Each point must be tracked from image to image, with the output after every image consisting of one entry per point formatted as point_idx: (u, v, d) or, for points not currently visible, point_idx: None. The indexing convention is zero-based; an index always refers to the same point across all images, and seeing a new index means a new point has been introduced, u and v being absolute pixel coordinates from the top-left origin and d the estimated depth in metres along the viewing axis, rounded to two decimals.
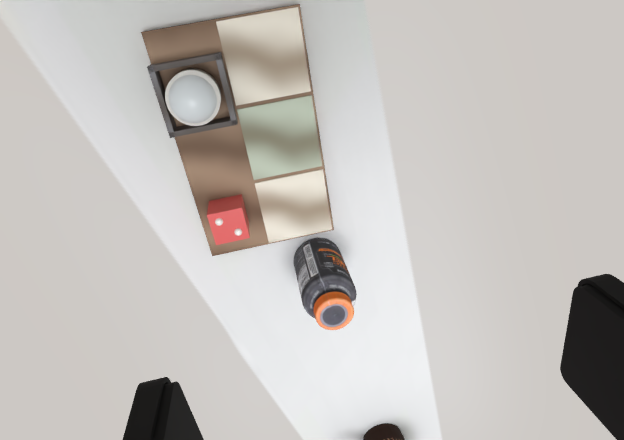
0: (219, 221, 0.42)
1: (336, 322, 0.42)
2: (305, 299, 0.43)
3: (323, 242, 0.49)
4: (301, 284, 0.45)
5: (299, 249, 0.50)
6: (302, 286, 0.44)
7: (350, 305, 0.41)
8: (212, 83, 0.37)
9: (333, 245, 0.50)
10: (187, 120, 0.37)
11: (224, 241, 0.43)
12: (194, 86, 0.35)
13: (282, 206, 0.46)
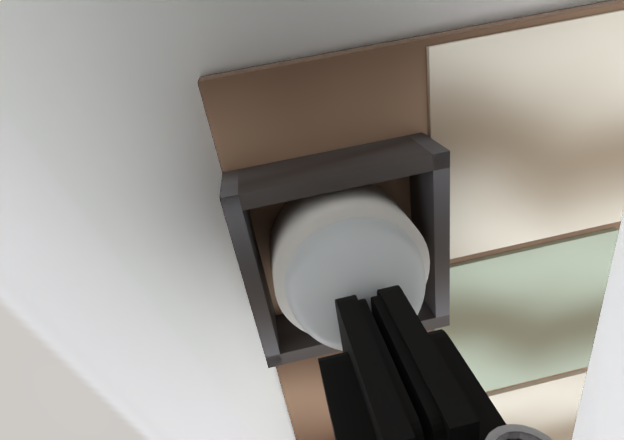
0: None
1: None
2: None
3: None
4: None
5: None
6: None
7: None
8: (417, 235, 0.12)
9: None
10: (342, 349, 0.12)
11: None
12: (387, 268, 0.11)
13: None
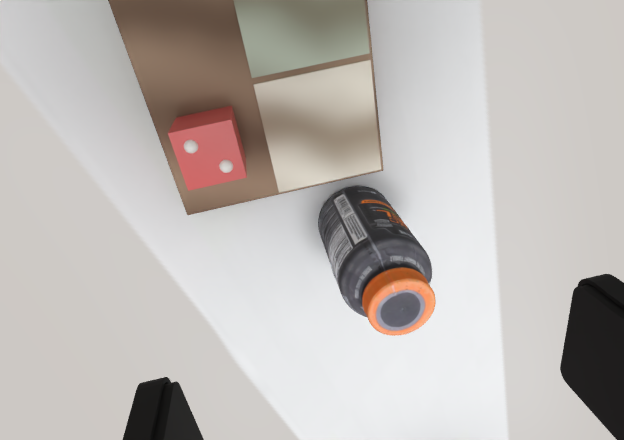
0: (191, 144, 0.23)
1: (404, 323, 0.23)
2: (346, 281, 0.25)
3: (366, 191, 0.31)
4: (336, 257, 0.26)
5: (327, 204, 0.31)
6: (339, 260, 0.26)
7: (430, 292, 0.23)
8: None
9: (382, 196, 0.31)
10: None
11: (202, 183, 0.25)
12: None
13: (301, 128, 0.28)
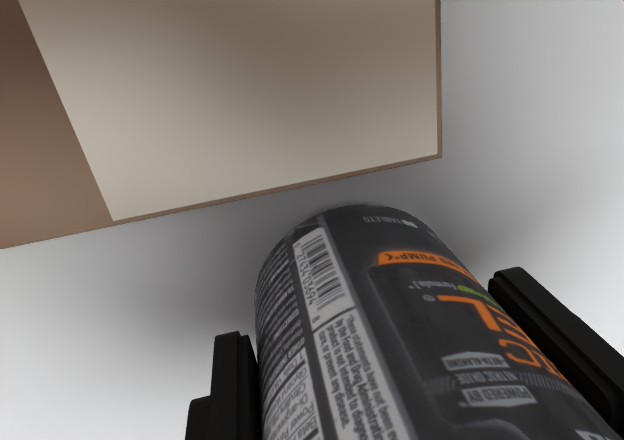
0: None
1: None
2: None
3: (390, 220, 0.10)
4: None
5: (276, 254, 0.11)
6: None
7: None
8: None
9: (434, 235, 0.11)
10: None
11: None
12: None
13: None
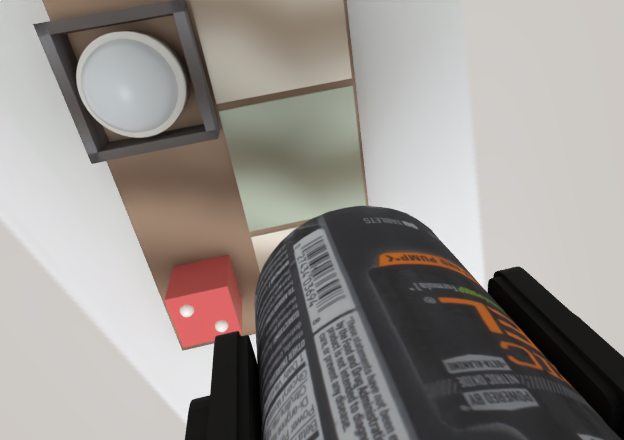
0: (187, 311, 0.23)
1: None
2: None
3: (391, 222, 0.10)
4: None
5: (276, 255, 0.11)
6: None
7: None
8: (168, 56, 0.19)
9: (434, 236, 0.11)
10: (119, 127, 0.19)
11: (197, 341, 0.25)
12: (128, 59, 0.18)
13: None
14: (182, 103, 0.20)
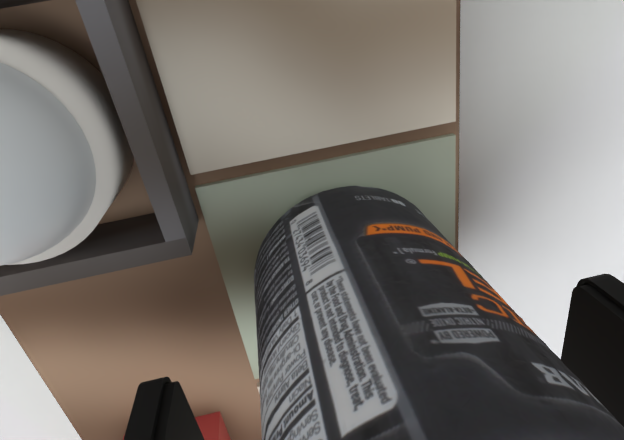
0: None
1: None
2: None
3: (380, 199, 0.11)
4: None
5: (274, 231, 0.12)
6: None
7: None
8: (63, 92, 0.08)
9: (421, 214, 0.12)
10: None
11: None
12: None
13: None
14: (108, 193, 0.09)
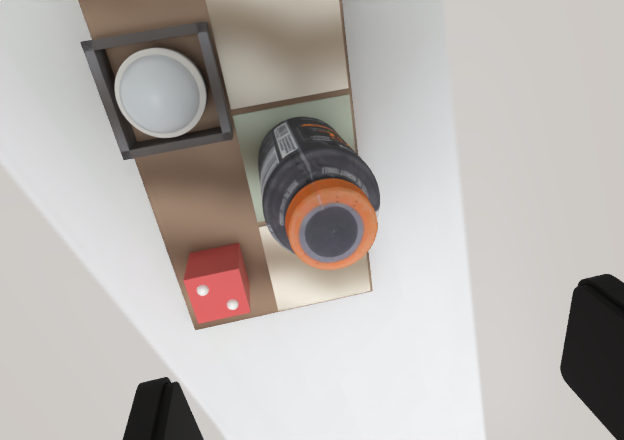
0: (203, 290, 0.27)
1: (337, 251, 0.18)
2: (268, 203, 0.19)
3: (312, 119, 0.26)
4: (263, 181, 0.21)
5: (267, 135, 0.26)
6: (264, 182, 0.21)
7: (370, 208, 0.18)
8: (192, 69, 0.23)
9: (332, 128, 0.26)
10: (150, 129, 0.22)
11: (211, 318, 0.28)
12: (160, 72, 0.21)
13: (299, 260, 0.31)
14: (203, 109, 0.24)
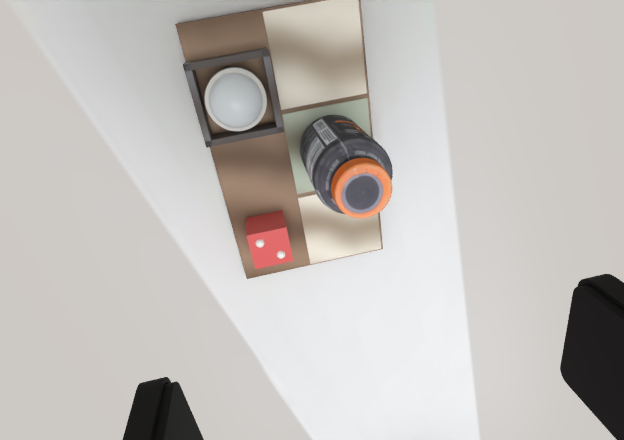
0: (260, 243, 0.36)
1: (365, 205, 0.28)
2: (318, 175, 0.29)
3: (341, 117, 0.35)
4: (311, 161, 0.31)
5: (307, 128, 0.36)
6: (313, 161, 0.30)
7: (387, 177, 0.27)
8: (258, 82, 0.32)
9: (355, 123, 0.36)
10: (230, 125, 0.32)
11: (264, 265, 0.38)
12: (240, 86, 0.30)
13: (327, 223, 0.41)
14: (264, 110, 0.33)
